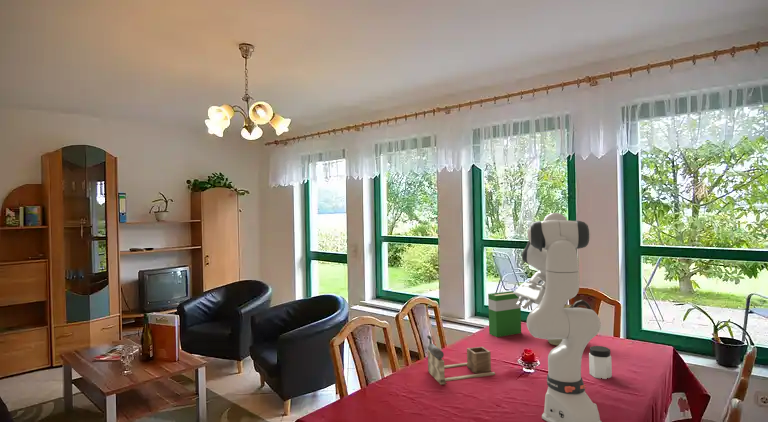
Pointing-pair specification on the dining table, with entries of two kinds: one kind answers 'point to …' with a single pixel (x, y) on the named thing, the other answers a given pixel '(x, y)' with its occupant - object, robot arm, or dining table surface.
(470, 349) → the crate
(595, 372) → the jar
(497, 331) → the green cereal box
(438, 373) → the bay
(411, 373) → the dining table surface
